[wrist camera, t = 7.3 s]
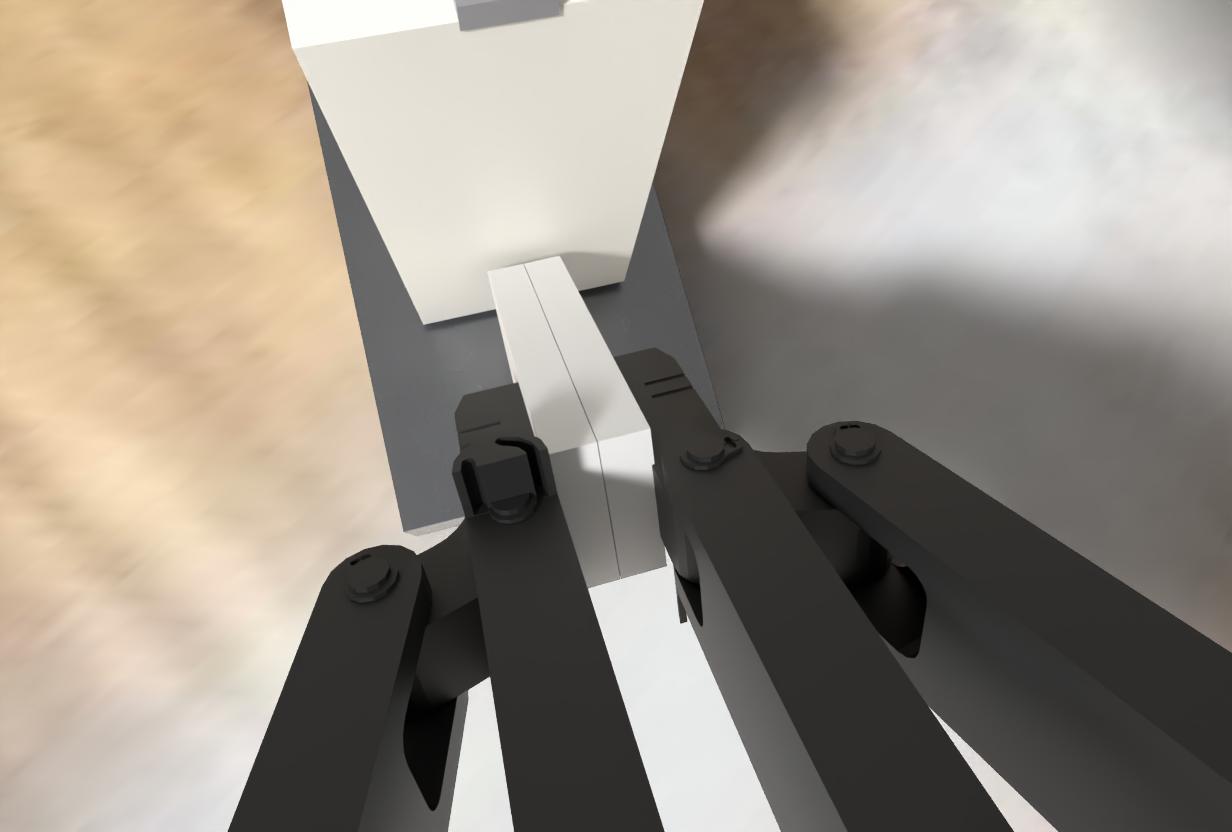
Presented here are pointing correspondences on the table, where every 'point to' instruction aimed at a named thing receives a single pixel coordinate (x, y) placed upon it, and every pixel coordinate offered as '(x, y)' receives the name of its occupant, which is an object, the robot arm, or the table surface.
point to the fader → (497, 129)
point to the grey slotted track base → (481, 344)
